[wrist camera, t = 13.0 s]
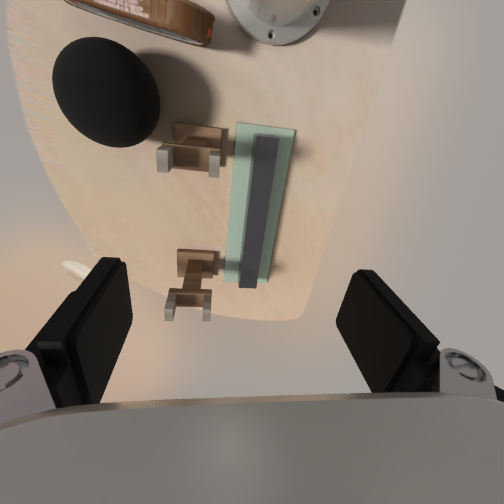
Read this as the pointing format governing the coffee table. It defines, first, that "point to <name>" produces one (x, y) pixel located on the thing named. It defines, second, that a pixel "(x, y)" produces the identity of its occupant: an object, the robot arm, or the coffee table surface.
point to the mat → (240, 196)
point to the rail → (257, 207)
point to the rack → (188, 261)
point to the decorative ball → (106, 92)
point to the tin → (157, 17)
